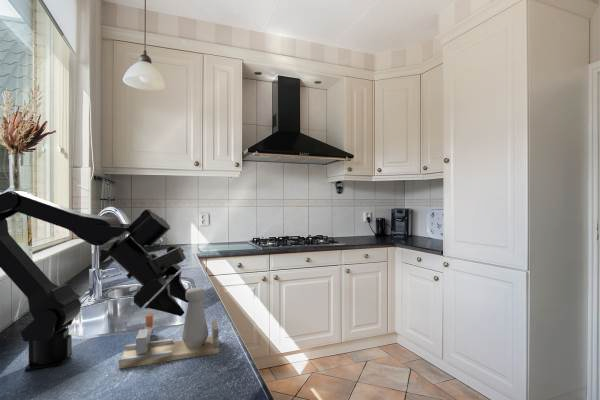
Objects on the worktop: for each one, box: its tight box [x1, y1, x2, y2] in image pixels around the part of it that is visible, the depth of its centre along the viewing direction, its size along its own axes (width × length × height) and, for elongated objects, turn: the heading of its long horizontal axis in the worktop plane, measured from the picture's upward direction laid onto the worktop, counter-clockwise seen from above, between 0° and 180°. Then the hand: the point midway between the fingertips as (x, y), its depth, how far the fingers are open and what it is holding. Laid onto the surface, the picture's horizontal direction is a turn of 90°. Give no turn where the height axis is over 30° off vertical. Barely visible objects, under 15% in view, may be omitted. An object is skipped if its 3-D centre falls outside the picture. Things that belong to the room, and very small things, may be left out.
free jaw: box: [135, 312, 155, 356], centre depth 75 cm, size 2×16×4 cm, turn 19°
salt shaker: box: [182, 287, 209, 349], centre depth 74 cm, size 6×6×13 cm
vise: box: [118, 318, 220, 369], centre depth 72 cm, size 20×7×5 cm, turn 109°
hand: (186, 307), depth 73 cm, fingers open, 9 cm apart
